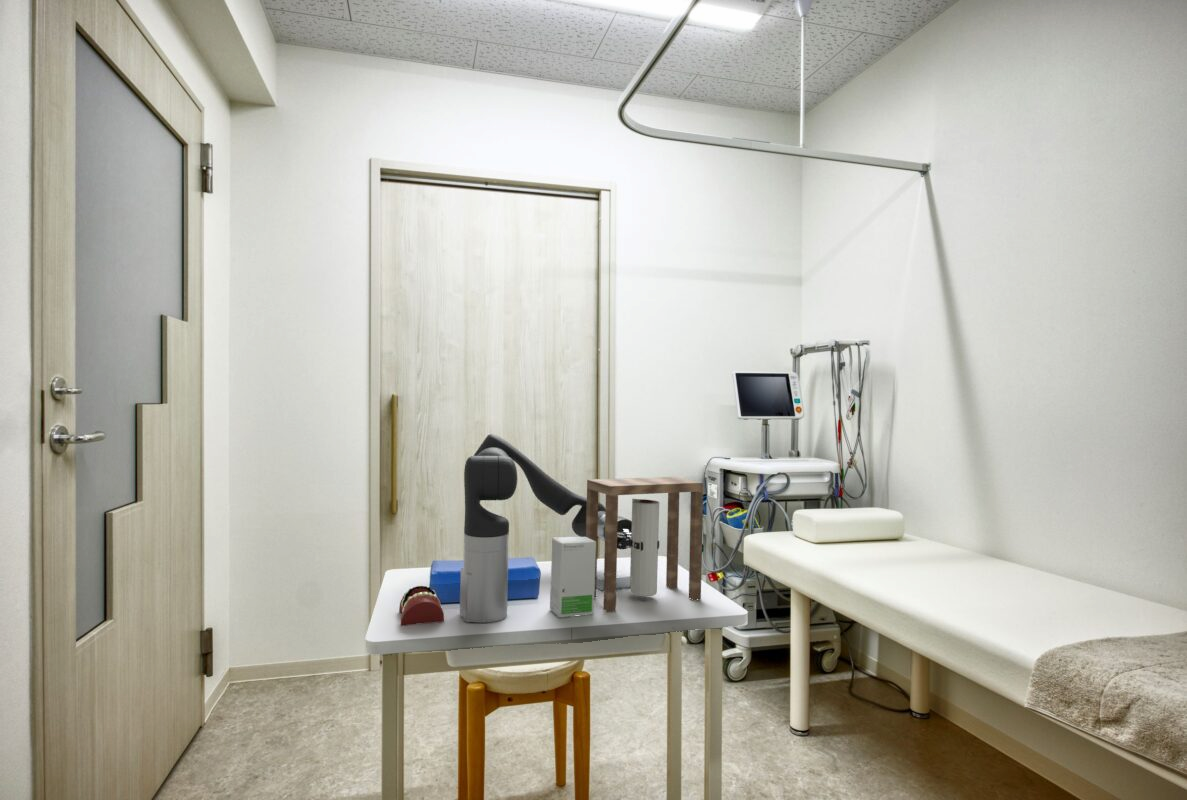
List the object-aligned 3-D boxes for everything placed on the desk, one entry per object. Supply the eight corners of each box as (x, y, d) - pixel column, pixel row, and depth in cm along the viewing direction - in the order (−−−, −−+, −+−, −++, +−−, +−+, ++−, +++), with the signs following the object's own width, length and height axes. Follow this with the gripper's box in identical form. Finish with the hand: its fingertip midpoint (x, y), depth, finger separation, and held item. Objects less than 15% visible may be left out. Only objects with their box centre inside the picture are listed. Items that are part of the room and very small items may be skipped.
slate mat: (600, 591, 151) (600, 589, 151) (586, 582, 158) (586, 581, 158) (651, 585, 157) (651, 584, 157) (635, 577, 164) (635, 575, 164)
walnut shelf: (607, 612, 136) (610, 486, 136) (584, 596, 147) (587, 479, 147) (700, 599, 146) (703, 482, 146) (673, 585, 157) (675, 476, 157)
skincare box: (558, 618, 131) (559, 543, 131) (548, 609, 137) (549, 537, 137) (595, 614, 134) (597, 541, 134) (584, 605, 140) (586, 534, 140)
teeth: (438, 577, 137) (444, 594, 126) (438, 606, 138) (445, 625, 126) (397, 582, 135) (401, 599, 123) (398, 611, 135) (401, 631, 123)
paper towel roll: (657, 597, 143) (660, 503, 143) (631, 596, 143) (633, 502, 143) (655, 588, 150) (657, 498, 150) (629, 587, 150) (632, 497, 150)
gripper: (640, 543, 162) (676, 559, 147) (590, 547, 157) (622, 565, 141) (640, 514, 162) (676, 527, 147) (590, 517, 157) (623, 531, 141)
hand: (649, 545), depth 144 cm, fingers closed on paper towel roll, 3 cm apart
